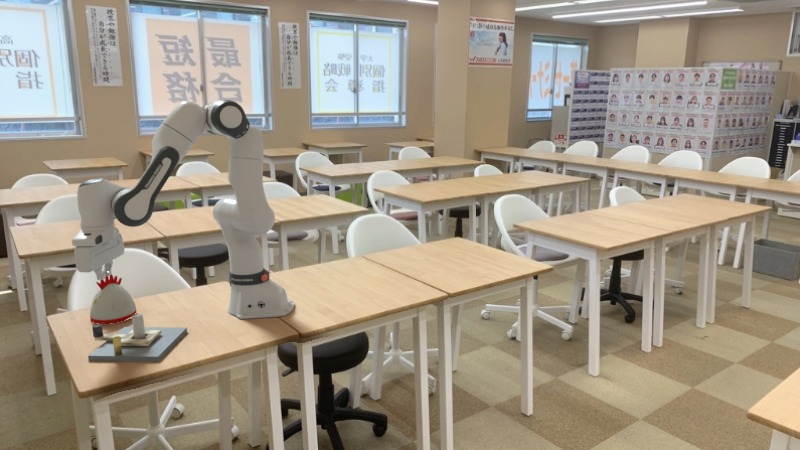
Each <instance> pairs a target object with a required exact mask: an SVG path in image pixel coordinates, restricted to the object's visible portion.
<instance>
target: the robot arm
mask: <svg viewBox="0 0 800 450" xmlns="http://www.w3.org/2000/svg"><path fill="white" fill-rule="evenodd" d="M205 132H207V133H209V134H213V135H217V136H225V137H226V139H227V140H228V144H229V153H228V154H229V155H228V156H229V158H228V171H227V172H228V180H227V181H228V182H229V184H230V185H231V186H232V189H233V192H234V195H235V197H226V198H225V197H224V198H221V199H219V200H218V201H217V202H216V203H215V204H214V206H213V209H212V216H213V219H214V220H215V222H216V224H217V225H218V226H219V227H220V231H221V232H222V235H223V237H224V238H223V239H224V240H225V244H226V247H227V250H228V258H229V273H228V278H229V279H228V281H229V286H230V300H229V305H228V308H227V312H228V313H229V314H230V315H233V316H236V318H238V319H240V320H243V319H247V320H248V319H260V318H261V319H262V318H274V317H275V318H276V317H284V316H288V314H290V313H291V312H292V311H293V309H294V307H295V302H294V300H293V299H289V298H288V294H287V291H286V289H285V287H283V286H281V285H280V284H278V283H277V282H275V281H274V280H272V279H270V273H271V269H268V270H266V269H265V267H264V261H263V259H264V258H263V248H262V246H261V243H260V242H258V240H257V238H256V236H255V235H262V234H263V235H264V234H267V233H269V232H270V231H271V230H272V229H273V226H274V225H275V220H276V219H275V218H276V216H275V212H274V210H273V209H272V207H270V204H269V203H268V200H267V197H266V193H265V188H264V180H263V179H264V178H263V177H264V176H263V175H264V158H265V157H264V153H265V151H264V148H265V147H264V139H263V133H262V130H261V129H260V128H259V127H257V126H255V125H252V124H250V121H249V119H248V117H247V115H246V113H245V111H244V109H243V107H242V105H240V104H239V103H237V102H236V101H233V100H232V99H231V100H230V99H220V100H216V101H213V102H211V103H207V104H206V105H204V106H200V105H199V104H198V103H196V102H193V101H189V100H186V101H182V102H180V103H179V104H177V106H175V107H174V109H172V110H171V111H170V112H169V114H168V115H167V116H166V117H165V118H164V119H163V121H162V122H161V124H160V125H159V127H158V128H157V130H156V131H155V133H154V135H153V137H152V140H151V143H150V144H151V152H152V153H151V159H150V162H149V165H148V166H147V168H146V169H145V171H144V173H143V174H142V175H141V177H140V179H139V180H138V181H137V183H136V185H135V186H134V187H132V186H131V187H130V186H124V185H120V184H116V183H115V182H111V181H110V180H109V179H107V178H103V177H102V178H101V177H100V178H98V177H97V178H92V179H88V180H85V181H83V182H82V183H80V184H79V185H78V187H77V192H76V193H77V195H76V196H77V207H78V212H79V215H80V219H81V220H80V229H79V230H78V232H77V234H76V235H75V236H73V238H72V240H71V243H72V244H71V245H72V246H73V247H75V248H74V252H73V253H74V255H73V256H74V262H75V267H76V270H77V271H78V272H79V273H91V272H94V274H95V276H96V280H97V281H100V280H105V277H106V276H108V277H110V275H111V274H112V267H113V264H114V262H113V261H114V260H115V259H117V258H120V257H121V256H122V255H124V254H125V244H124V239H123V236H122V234H121V232H120V230H119V229H118V228H117V227H116V226H115V220H117V221H118V222H119V223H120V224H122V225H124V226H125V227H131V228H133V227H140V226H142V225H145V224H147V222H149V220H150V219H151V217H152V215H153V213H154V212H153V211H154V207H155V206H154V205H155V201H156V199H157V197H158V196H159V194H160V192H161V190H162V189H163V187H164V185H165V184H166V183H167V181H168V179H169V177H171V175H172V173H174V170H175V169H176V168H177V166H178V165H179V163H180V162H181V161H182V160H183V159H184V158H185V157H186V155H187V154H188V153H189V152H190V150H191V149H192V147H193V146H194V145H195V144H196V142H197V140H198V139H199V137H201V135H203V133H205ZM103 266H104V267H103ZM103 269H104V270H103ZM112 275H113V274H112Z"/></svg>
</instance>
